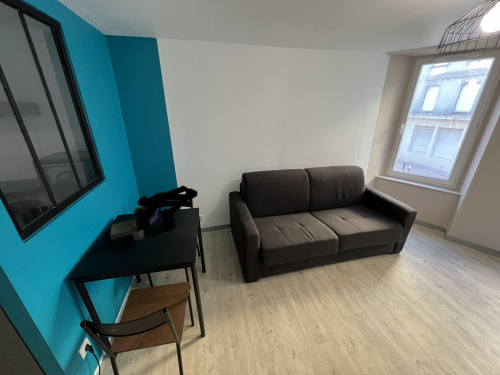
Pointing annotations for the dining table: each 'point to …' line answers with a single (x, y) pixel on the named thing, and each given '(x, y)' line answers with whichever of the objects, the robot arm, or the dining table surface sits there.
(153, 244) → the dining table surface
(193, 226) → the dining table surface
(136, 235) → the jar
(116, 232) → the bin
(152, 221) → the candy box
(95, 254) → the dining table surface
